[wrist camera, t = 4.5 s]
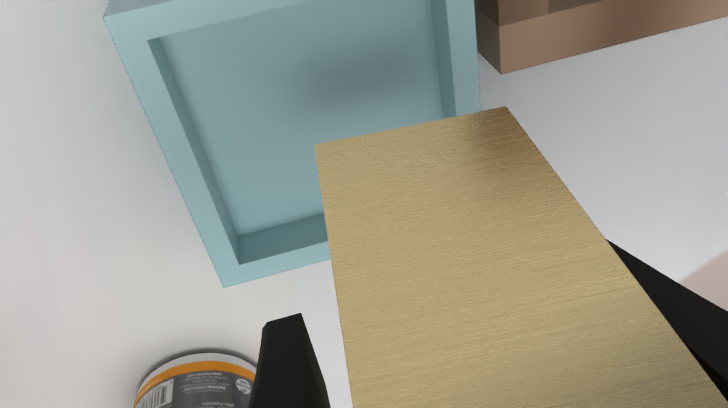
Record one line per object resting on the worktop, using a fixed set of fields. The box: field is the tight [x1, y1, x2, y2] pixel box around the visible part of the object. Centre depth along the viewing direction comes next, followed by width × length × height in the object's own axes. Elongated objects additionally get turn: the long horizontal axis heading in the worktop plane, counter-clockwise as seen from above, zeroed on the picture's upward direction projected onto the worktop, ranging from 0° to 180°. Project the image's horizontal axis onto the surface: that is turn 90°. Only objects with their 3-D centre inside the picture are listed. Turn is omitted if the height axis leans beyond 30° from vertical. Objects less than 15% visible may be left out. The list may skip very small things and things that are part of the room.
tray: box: [103, 0, 481, 288], centre depth 19 cm, size 10×10×2 cm
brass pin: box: [314, 107, 728, 408], centre depth 10 cm, size 5×5×9 cm
